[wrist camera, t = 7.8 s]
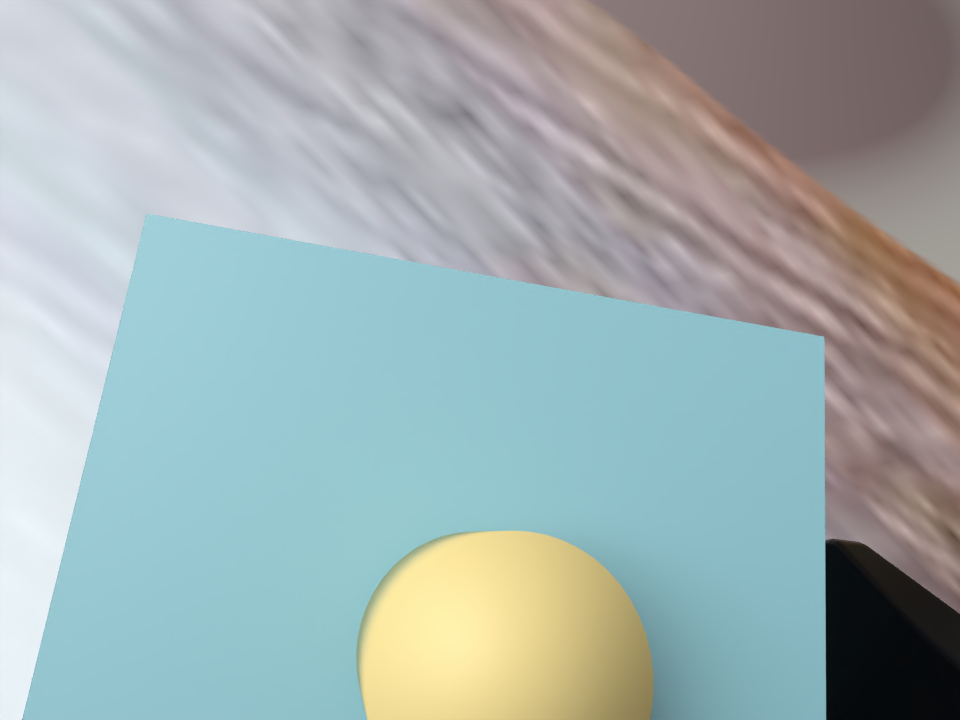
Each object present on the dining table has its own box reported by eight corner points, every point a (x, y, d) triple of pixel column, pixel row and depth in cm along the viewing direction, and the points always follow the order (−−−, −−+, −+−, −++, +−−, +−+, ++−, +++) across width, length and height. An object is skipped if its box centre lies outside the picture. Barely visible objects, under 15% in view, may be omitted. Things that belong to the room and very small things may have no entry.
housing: (483, 724, 15) (980, 1302, 4) (210, 703, 14) (-243, 1384, 3) (510, 460, 17) (934, 292, 5) (262, 425, 16) (100, 127, 4)
